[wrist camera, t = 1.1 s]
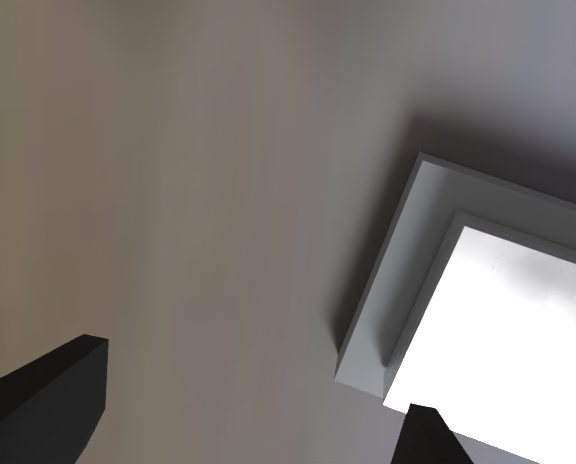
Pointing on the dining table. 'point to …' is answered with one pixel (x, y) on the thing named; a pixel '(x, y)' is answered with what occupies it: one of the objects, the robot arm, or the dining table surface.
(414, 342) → the sliding cover
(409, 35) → the dining table surface
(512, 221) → the grey flat frame
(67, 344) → the robot arm
